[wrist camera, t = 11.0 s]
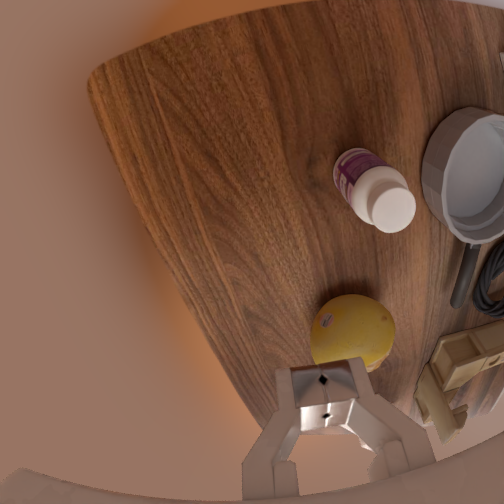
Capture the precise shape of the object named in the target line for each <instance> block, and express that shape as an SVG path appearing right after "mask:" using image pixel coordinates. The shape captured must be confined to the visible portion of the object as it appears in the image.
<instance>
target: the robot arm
mask: <svg viewBox="0 0 504 504" xmlns="http://www.w3.org/2000/svg"><path fill="white" fill-rule="evenodd" d="M275 380H276V389H277V399H278V409H279V411H274V413H273V415H272V416H271V418H270V420H269V421H268V423H267V425H266V426H265V428H264V429H263V431H262V433H261V434H260V436H259V437H258V439H257V441H256V442H255V444H254V445H253V447H252V449H251V450H250V452H249V453H248V455H247V456H246V458H245V460H244V461H243V463H242V494H243V501H196V500H195V501H194V500H177V499H165V498H155V497H146V496H138V495H132V494H125V493H119V492H113V491H108V490H103V489H98V488H93V487H89V486H84V485H80V484H76V483H72V482H68V481H64V480H61V479H58V478H54V477H50V476H47V475H44V474H41V473H38V472H35V471H32V470H29V469H26V468H19V469H17V470H16V471H14V472H13V473H12V474H10V475H9V476H8V477H6V479H4V480H3V481H2V482H1V483H0V504H504V431H503V432H501V433H500V434H498V435H496V436H494V437H492V438H490V439H488V440H486V441H484V442H482V443H480V444H478V445H476V446H474V447H471V448H469V449H467V450H464V451H462V452H460V453H457V454H455V455H453V456H450V457H448V458H445V459H443V460H440V461H438V462H436V459H435V456H434V453H433V450H432V447H431V444H430V441H429V438H428V435H427V432H426V430H425V429H424V428H422V427H421V426H420V425H418V424H417V423H416V422H414V421H413V420H412V419H411V418H409V417H408V416H407V415H405V414H404V413H403V412H401V411H400V410H399V409H397V408H396V407H395V406H394V405H392V404H391V403H390V402H388V401H387V400H386V399H385V398H383V397H382V396H381V395H379V394H376V395H375V394H374V391H373V388H372V385H371V382H370V379H369V376H368V373H367V370H366V367H365V364H364V361H363V359H362V358H361V357H355V358H350V359H342V360H337V361H331V362H325V363H319V364H315V365H308V366H299V367H289V368H281V369H275ZM343 424H347V425H348V426H349V427H350V428H351V429H352V430H353V431H354V432H355V433H356V434H357V435H358V436H359V437H360V438H361V439H362V440H363V441H364V442H365V443H366V444H367V445H368V446H369V447H370V448H371V449H372V450H373V451H374V452H375V453H376V454H377V456H376V457H375V459H374V460H373V462H372V463H371V465H370V466H369V468H368V475H369V479H370V483H367V484H362V485H358V486H354V487H349V488H345V489H339V490H334V491H328V492H323V493H317V494H311V495H303V496H300V495H299V488H298V480H297V472H296V465H295V463H294V462H292V461H287V459H288V457H289V455H290V453H291V451H292V449H293V447H294V444H295V443H296V441H297V439H298V437H299V435H300V432H301V431H307V430H313V429H319V428H324V427H331V426H337V425H343Z"/></svg>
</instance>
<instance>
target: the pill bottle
mask: <svg viewBox="0 0 504 504" xmlns="http://www.w3.org/2000/svg"><path fill="white" fill-rule="evenodd" d="M333 178H334V182H335V184H336V186H337V188H338V189H339V191H340V192H341V194H342V195H343V196H344V198H345V199H346V200H347V202H348V203H349V204H350V206H351V207H352V208H353V210H354V211H355V213H356V214H357V215H358V216H359V217H360V218H361V219H362V220H363V221H365V222H366V223H369V224H372V225H375V226H376V227H377V228H378V229H379V230H381V231H383V232H386V233H394V232H398V231H400V230H402V229H404V228H405V227H406V226H407V225H408V224H409V223H410V222H411V220H412V219H413V217H414V214H415V210H416V202H415V198H414V196H413V195H412V193H411V192H410V191H409V190H408V186H407V183H406V181H405V179H404V177H403V176H402V175H401V174H400V173H399V172H398V171H397V170H396V169H394V168H393V167H392V166H390V165H389V164H387V163H386V162H385V161H383V160H382V159H381V158H379V157H378V156H376V155H375V154H374V153H372V152H370V151H369V150H366V149H363V148H353V149H350V150H348V151H346V152H344V153H343V154H342V155H341V156H340V157H339V158H338V159H337V161H336V163H335V166H334V170H333Z"/></svg>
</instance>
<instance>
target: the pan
mask: <svg viewBox="0 0 504 504" xmlns="http://www.w3.org/2000/svg"><path fill="white" fill-rule="evenodd" d="M421 180H422V181H421V182H422V187H423V192H424V198H425V201H426V203H427V205H428V206H429V208H430V210H431V212H432V214H433V215H434V216H435V217H436V218H437V219H438V220H439V221H441V222H442V223H443V224H444V225H445V226H446V227H447V228H448V229H449V230H450V231H451V232H452V233H453V234H454V235H455V236H456V237H458V238H459V239H460V240H461V241H463V242H467V243H470V244H473V245H476V244H483V243H489V242H490V241H492V240H494V239H496V238H498V237H500V236H501V235H503V234H504V115H502V114H499V113H495V112H492V111H489V110H486V109H482V108H475V107H467V108H464V109H460V110H457V111H455V112H453V113H452V114H451V115H449V116H448V117H447V118H446V119H444V120H443V121H442V122H441V123H440V124H439V126H438V127H437V129H436V130H435V132H434V133H433V135H432V136H431V138H430V140H429V143H428V146H427V149H426V152H425V155H424V158H423V164H422V176H421Z"/></svg>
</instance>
